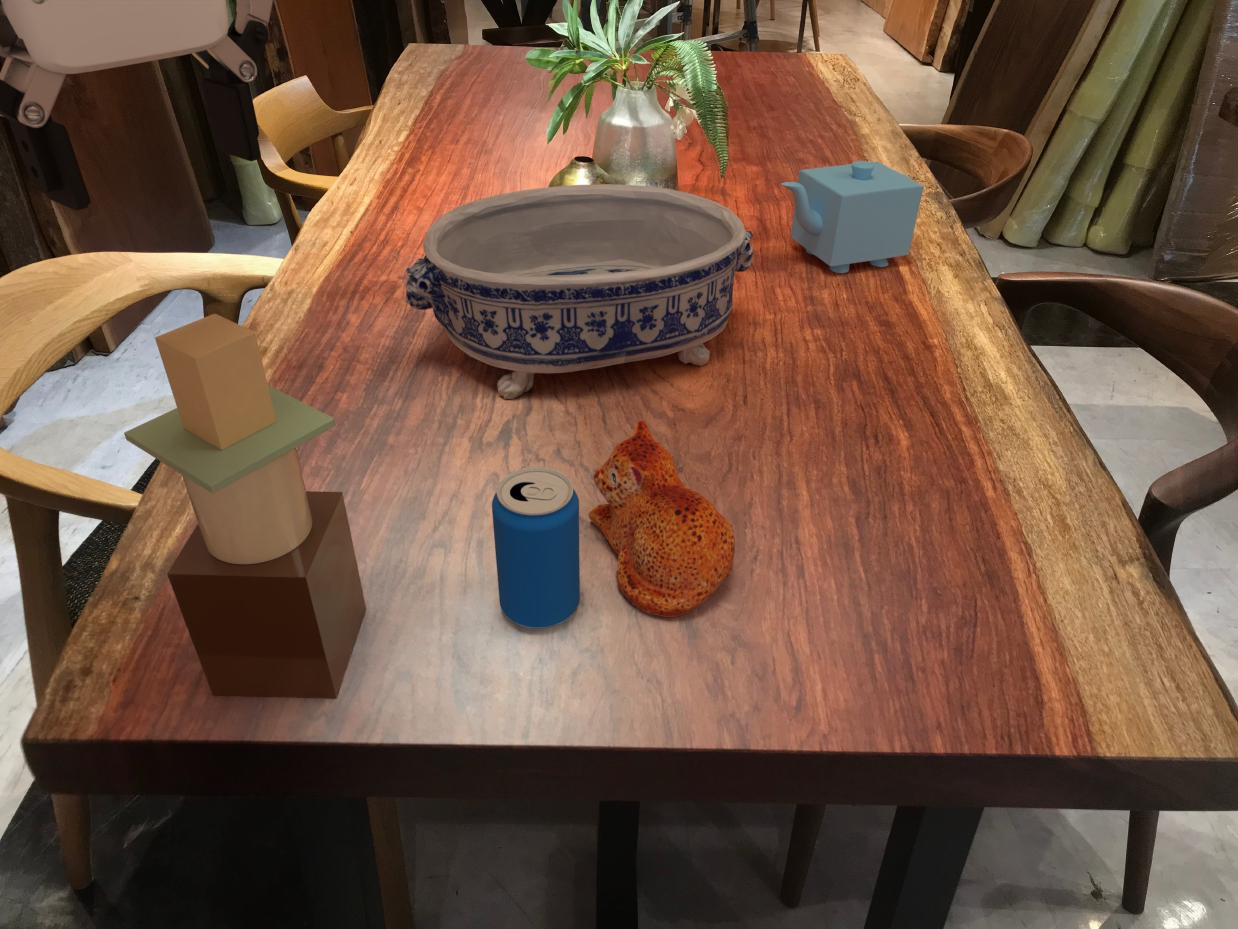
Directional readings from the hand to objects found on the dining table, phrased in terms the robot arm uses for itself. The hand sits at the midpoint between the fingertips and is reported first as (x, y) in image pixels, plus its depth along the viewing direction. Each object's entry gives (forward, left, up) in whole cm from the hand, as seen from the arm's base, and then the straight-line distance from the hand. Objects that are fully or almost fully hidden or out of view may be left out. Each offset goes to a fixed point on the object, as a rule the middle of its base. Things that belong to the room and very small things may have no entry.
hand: (160, 177), depth 47 cm
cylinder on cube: (0, 0, -36) cm, 36 cm away
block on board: (0, 0, -16) cm, 16 cm away
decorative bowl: (+53, +12, -36) cm, 66 cm away
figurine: (+26, -16, -36) cm, 48 cm away
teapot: (+96, -1, -36) cm, 103 cm away
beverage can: (+15, -12, -36) cm, 41 cm away
